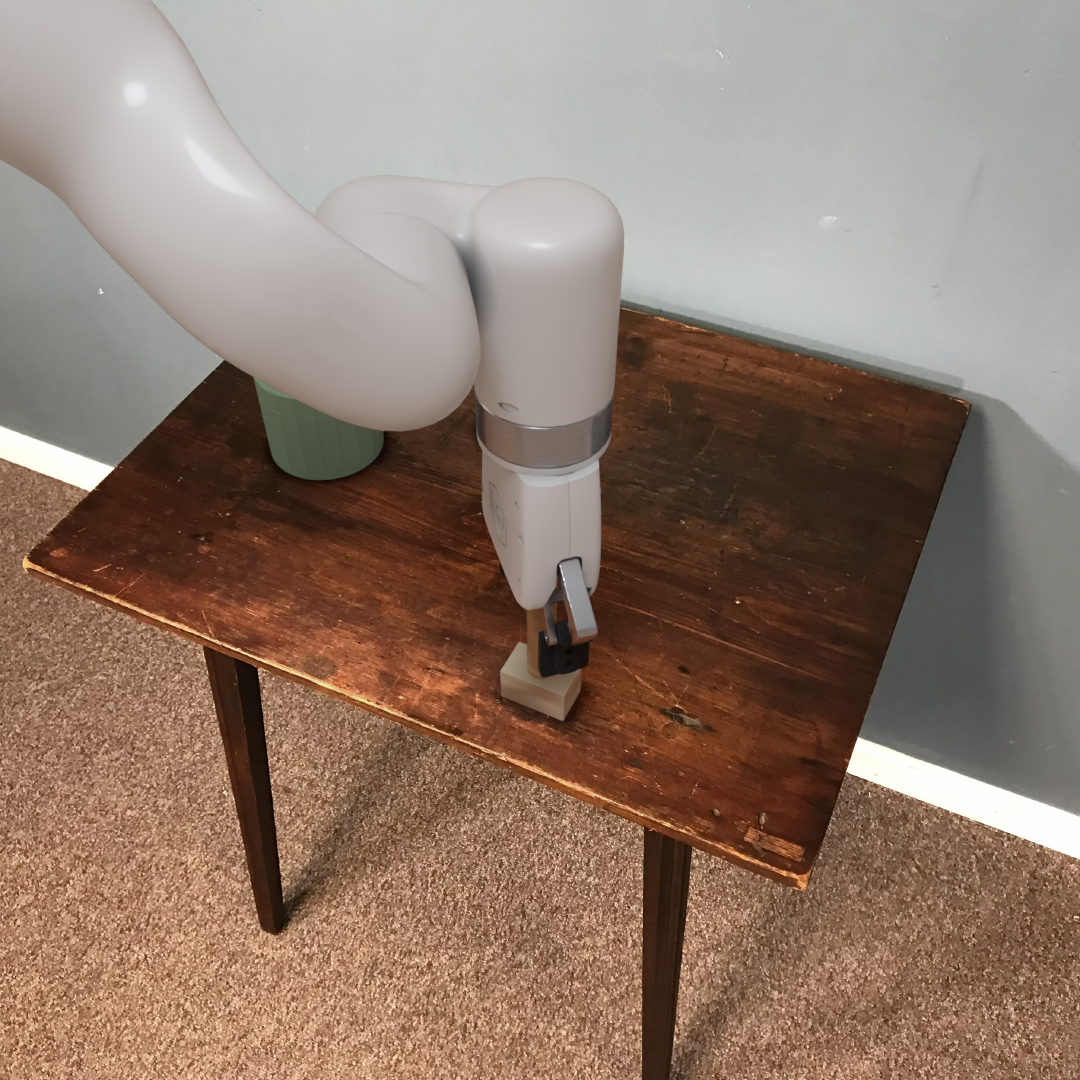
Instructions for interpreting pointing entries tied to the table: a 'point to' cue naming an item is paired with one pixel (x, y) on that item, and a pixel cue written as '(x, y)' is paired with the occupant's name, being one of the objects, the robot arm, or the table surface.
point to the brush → (538, 675)
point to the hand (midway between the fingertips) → (541, 616)
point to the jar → (314, 438)
